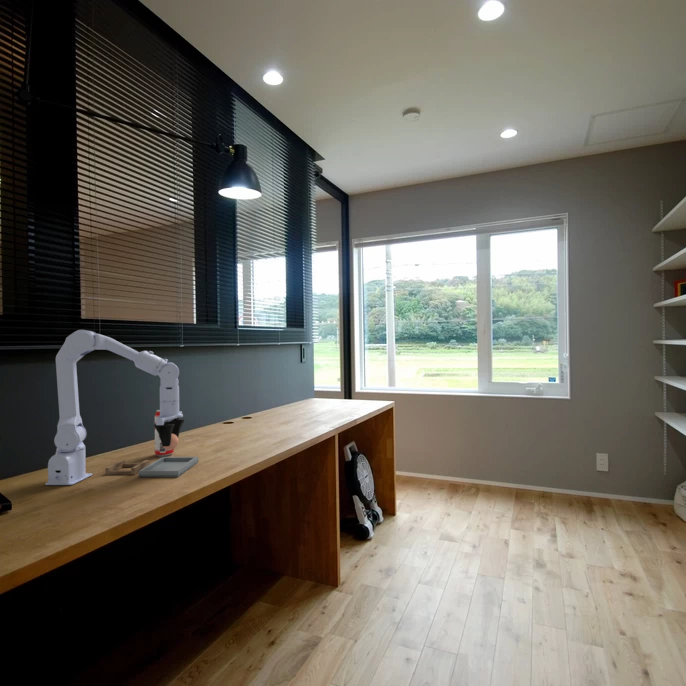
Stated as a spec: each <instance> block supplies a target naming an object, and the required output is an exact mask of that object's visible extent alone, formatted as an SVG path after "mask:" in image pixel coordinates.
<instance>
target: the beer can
mask: <svg viewBox="0 0 686 686" xmlns="http://www.w3.org/2000/svg"><path fill="white" fill-rule="evenodd" d="M155 411H156V412H155V415H154V425H155V424H156V419H157V418H158V417H159V415H160V409H157V410H155ZM174 452H175V448H174V449H171V450H167V449H165V448H164V447H163V446H162V443H161V439H160V436H159V433H158V431H157V430H156V428H155V427H154V454H155V455H156V457H160V458H162V457H170V456H171V455H172V454H173V453H174Z"/></svg>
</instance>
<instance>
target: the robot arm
mask: <svg viewBox="0 0 686 686" xmlns="http://www.w3.org/2000/svg"><path fill="white" fill-rule="evenodd" d="M95 350H102V351H103V350H106V351H109V352H112V353H114V354H116V355H119V356H121V357H123V358H126V359H128V360H130V361H133V362H134V366H135V367H136V368H137V369H140V370H142V371H143V372H146V373H148V374H150V375H152V376H155V377H156V376H158V377H159V378H160V386H159V410H160V415H159V417H158V418H157V419H156V424H155V423H154V429H155V428H156V430H157V431H158V433H159V436H160V439H161V443H162V446H170V443H171V435H172V434H175V435H176V436H177V437H178V438H179V437H180V436H179V435H180V431H181V430H182V429H181V428H182V426H183V424H184V421H185V418H183V417H184V414H183V411H181V410H180V386H179V384H180V382H179V381H180V380H179V376H180V369H179V367H178V366H177V365H176V364H175V363H174V362H171V361H169V359H167V358H162V357H159V356H158V355H156V354H154V353H155V352H153V351H151V350H149V351H148V350H142V351H140V352H139V351H138V350H136V349H133V348H132V347H130V346H127V345H126V344H123V343H122V342H119V341H117V340H116V339H114V338H112V337H110V336H106V335H103V334H100V333H96V332H95V331H92V330H86V329H78V330H76V331H73V332H72V333H71V334H69V335H68V336H67V337H66V338H65V340H64V343H63V344H62V346H61V348H60V349H59V351H58V352H57V354H56V356H55V368H56V372H55V373H56V383H57V399H58V400H57V401H58V410H59V411H58V414H59V419H58V422H57V425H56V427H57V431H56V434H55V436H54V439H53V441H54V445H55V447H56V451H55V454H54V455H52V456H50V458H49V459H48V463H47V481H46V482H45V483H44V484H45V485H46V486H73V485H76V484H77V483H79V482H81V481H83V480H85V479H87V478H89V477H91V476H93V473H92V472H91V473H88V472H86V467H87V466H86V465H87V464H86V445H85V444H84V440H85V439H86V438H87V435H88V434H87V429H86V427H84V425H83V419H82V416H81V414H80V401H79V398H80V397H79V387H78V386H79V385H78V374H77V372H78V371H77V362H78V361H80V360H81V359H82V358H83V357H84V356H85V355H86V354H88V353H91V352H93V351H95Z"/></svg>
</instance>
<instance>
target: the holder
mask: <svg viewBox="0 0 686 686" xmlns="http://www.w3.org/2000/svg"><path fill="white" fill-rule="evenodd" d="M148 465H150V460H148V459H145V460H143V461H142V462H138V463H137V462H132V463H131V462H126V461H125V459H122V460H120V461H117V462H115V463H113V464H111V465H109V466H107V467H105V468H104V469H105V472H104V473H105V475H106V476H109V475H110V476H112V475H116V476H117V475H118V476H119V475H120V476H123V475H125V476H126V475H127V476H128V475H129V476H131V475H132V476H134V475H136V474H139V471H140V470H141V469H143V468H145V467H146V466H148ZM123 468H130V470H126V469H125V470H124V469H123ZM121 469H123V470H121Z"/></svg>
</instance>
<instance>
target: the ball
mask: <svg viewBox="0 0 686 686" xmlns="http://www.w3.org/2000/svg"><path fill="white" fill-rule="evenodd" d="M178 444H179V437H177V436H176V435H175V434H172V435H171V443H170V446H163V447H164V448H165V449H167V450H171V449H174V450H175V448H176V447H177V446H178Z"/></svg>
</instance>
